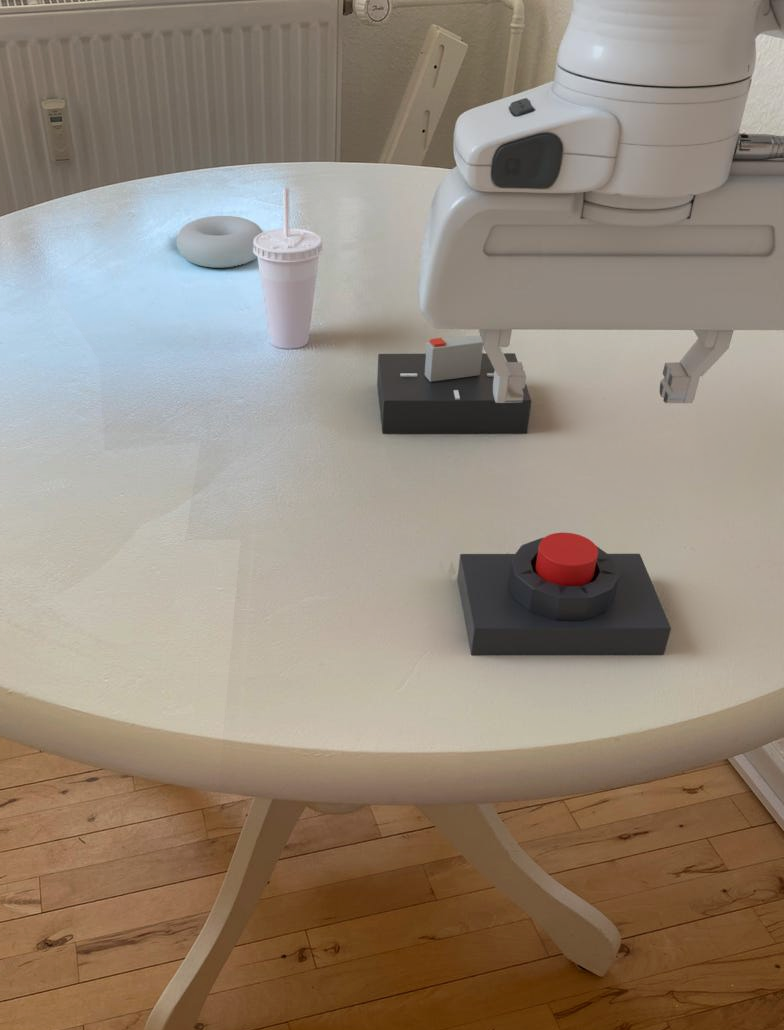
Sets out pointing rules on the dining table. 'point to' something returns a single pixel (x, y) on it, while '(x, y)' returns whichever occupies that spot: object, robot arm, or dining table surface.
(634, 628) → the power switch
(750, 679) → the dining table surface
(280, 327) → the smoothie
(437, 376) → the grey block
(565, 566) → the power button
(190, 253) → the donut
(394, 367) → the panel
